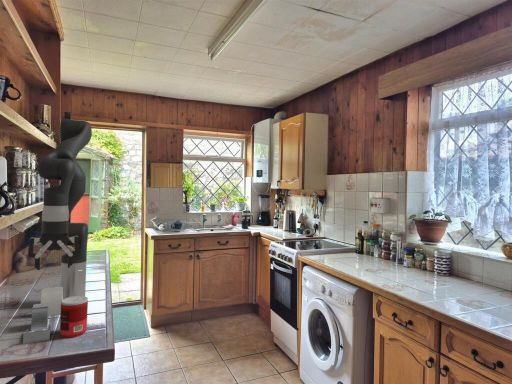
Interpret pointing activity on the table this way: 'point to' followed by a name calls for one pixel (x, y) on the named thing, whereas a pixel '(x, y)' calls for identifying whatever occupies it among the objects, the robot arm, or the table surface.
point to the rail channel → (36, 336)
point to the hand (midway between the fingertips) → (53, 268)
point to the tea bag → (53, 299)
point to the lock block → (39, 316)
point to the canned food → (73, 316)
